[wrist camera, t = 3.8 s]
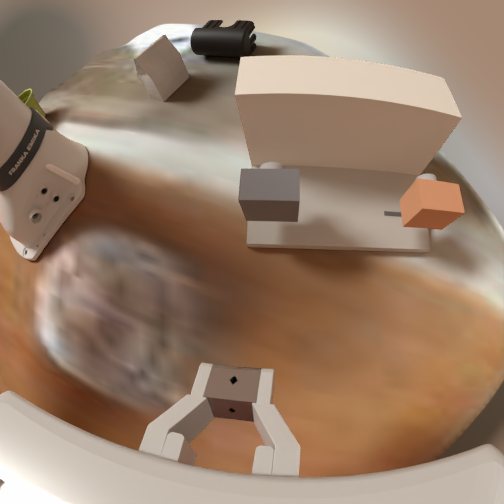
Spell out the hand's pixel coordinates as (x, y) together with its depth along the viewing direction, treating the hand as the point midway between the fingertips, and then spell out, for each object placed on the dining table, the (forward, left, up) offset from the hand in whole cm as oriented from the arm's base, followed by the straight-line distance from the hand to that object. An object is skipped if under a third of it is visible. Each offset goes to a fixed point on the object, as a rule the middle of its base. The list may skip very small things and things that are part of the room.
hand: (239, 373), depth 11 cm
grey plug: (+12, +7, -14) cm, 20 cm away
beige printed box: (+25, +36, -20) cm, 48 cm away
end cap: (+37, +32, -20) cm, 53 cm away
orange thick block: (+20, -7, -14) cm, 26 cm away
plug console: (+20, +2, -20) cm, 28 cm away
